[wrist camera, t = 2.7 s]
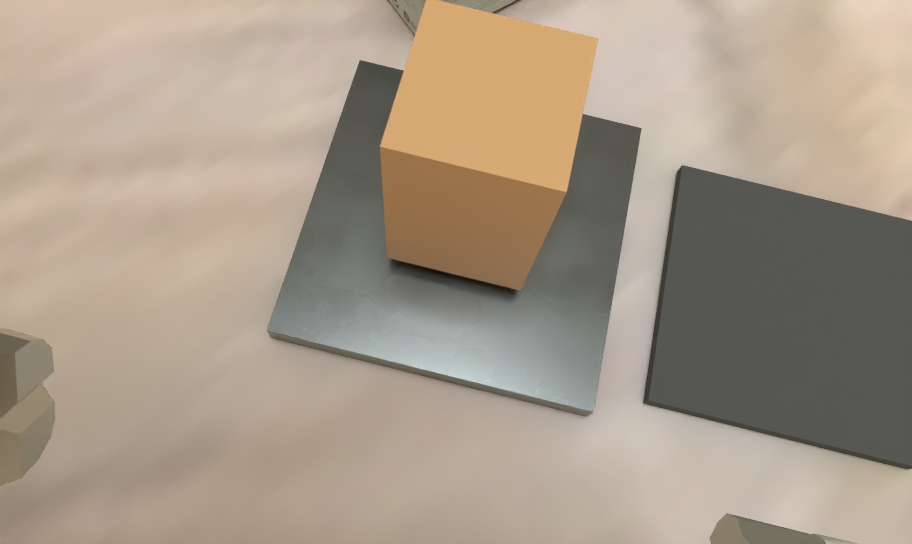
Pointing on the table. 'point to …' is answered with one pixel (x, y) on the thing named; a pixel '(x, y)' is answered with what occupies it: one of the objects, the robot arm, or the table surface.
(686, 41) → the table surface
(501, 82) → the tan rectangular pillar
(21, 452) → the robot arm
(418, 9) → the supplement box
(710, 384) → the mat
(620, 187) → the post stand
